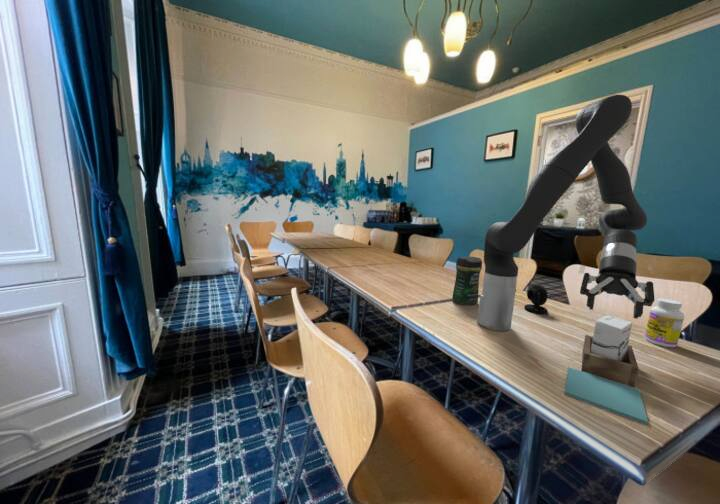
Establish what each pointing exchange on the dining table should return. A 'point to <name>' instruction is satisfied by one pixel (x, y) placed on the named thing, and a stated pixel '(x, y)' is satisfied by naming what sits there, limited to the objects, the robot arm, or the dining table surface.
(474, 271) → the coffee jar
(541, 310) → the webcam
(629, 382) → the walnut case
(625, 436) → the dining table surface
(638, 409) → the teal mat
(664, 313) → the supplement bottle
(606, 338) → the ink box
